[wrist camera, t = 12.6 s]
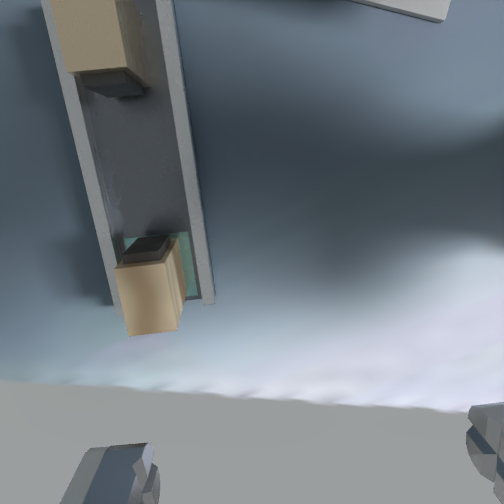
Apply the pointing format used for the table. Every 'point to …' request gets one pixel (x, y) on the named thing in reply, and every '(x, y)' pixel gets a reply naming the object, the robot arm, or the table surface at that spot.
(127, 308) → the wooden block
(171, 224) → the rail
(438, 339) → the table surface
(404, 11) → the test tube rack
